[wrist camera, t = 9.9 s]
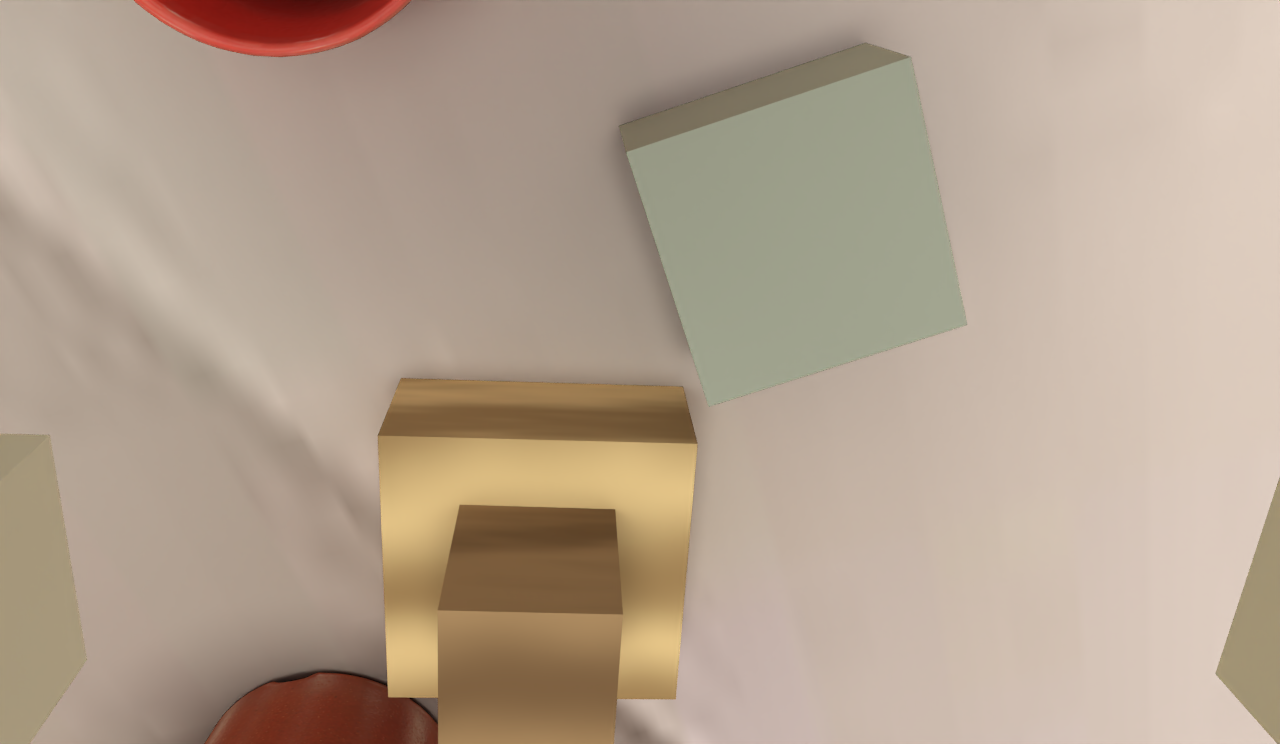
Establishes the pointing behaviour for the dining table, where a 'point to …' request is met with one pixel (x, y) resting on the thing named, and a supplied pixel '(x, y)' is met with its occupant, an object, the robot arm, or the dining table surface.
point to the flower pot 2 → (324, 714)
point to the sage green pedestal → (798, 220)
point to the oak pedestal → (537, 502)
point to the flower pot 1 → (274, 22)
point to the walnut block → (530, 627)
